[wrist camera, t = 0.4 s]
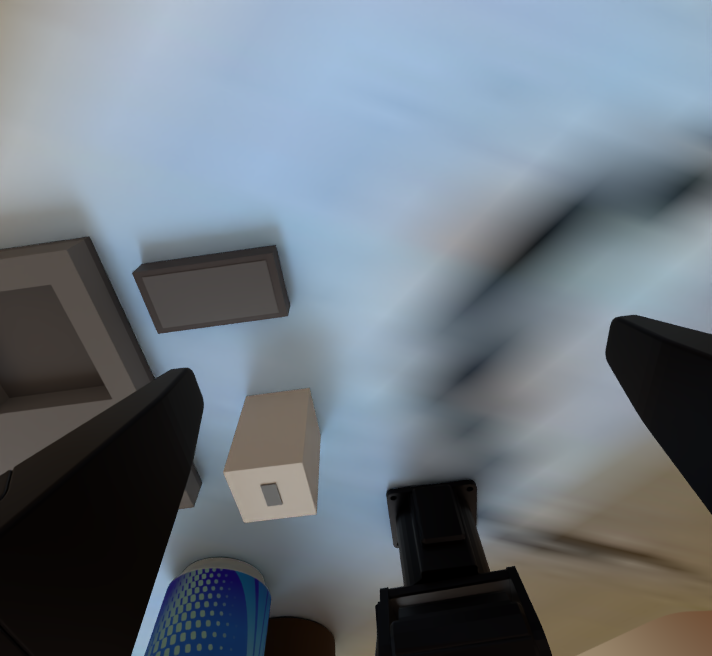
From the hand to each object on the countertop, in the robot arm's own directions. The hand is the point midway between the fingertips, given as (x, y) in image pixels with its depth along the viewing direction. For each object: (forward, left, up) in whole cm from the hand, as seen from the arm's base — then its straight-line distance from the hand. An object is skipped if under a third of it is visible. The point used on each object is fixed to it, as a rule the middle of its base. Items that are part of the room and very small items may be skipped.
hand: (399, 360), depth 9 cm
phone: (-3, +8, -13) cm, 16 cm away
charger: (-12, +7, -14) cm, 20 cm away
